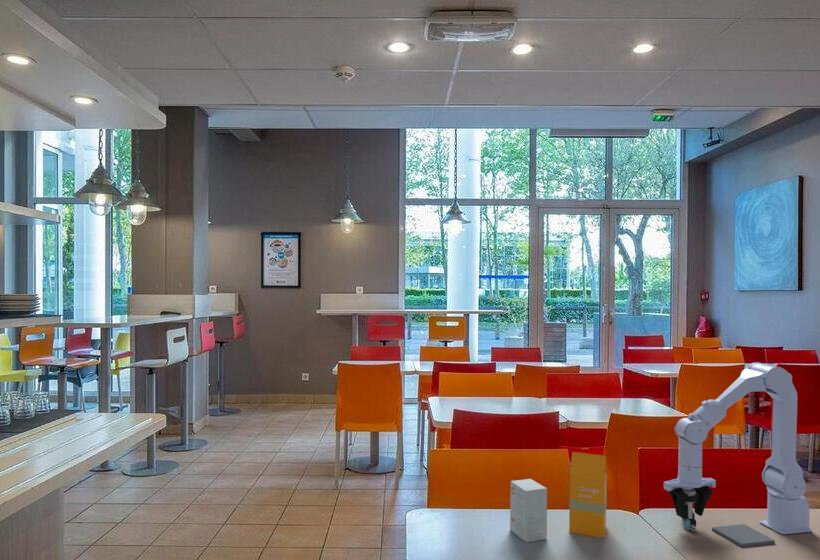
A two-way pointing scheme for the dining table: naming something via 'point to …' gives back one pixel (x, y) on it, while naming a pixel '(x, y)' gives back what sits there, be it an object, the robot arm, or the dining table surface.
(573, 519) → the orange juice
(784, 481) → the robot arm
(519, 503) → the small box
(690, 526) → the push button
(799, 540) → the dining table surface
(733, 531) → the rubber pad
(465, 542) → the dining table surface
